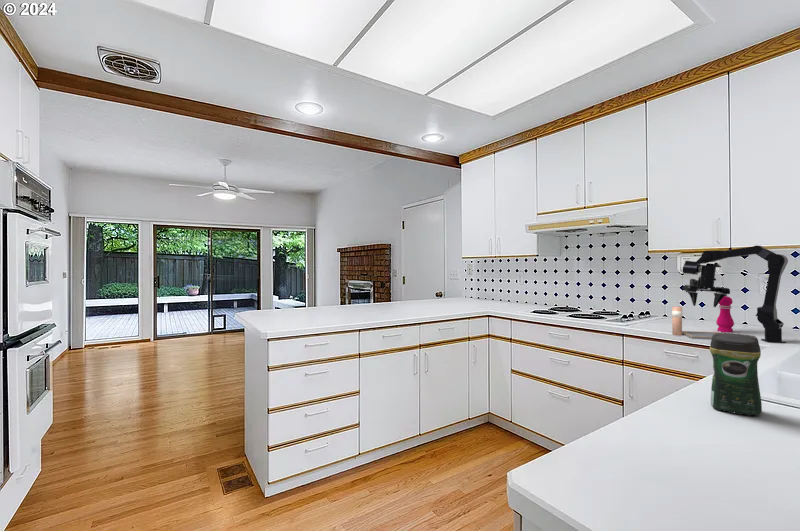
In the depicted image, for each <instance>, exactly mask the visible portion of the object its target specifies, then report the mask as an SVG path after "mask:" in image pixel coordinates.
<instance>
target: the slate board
mask: <svg viewBox="0 0 800 531" xmlns="http://www.w3.org/2000/svg"><path fill="white" fill-rule="evenodd" d="M715 333H722V332H719V331H716V332H715V331H697V330H696V331H693V330H692V331H690V330H682V336H686V337H687V338H689V339H692V340H693V339H695V340H711V339H712V335H713V334H715Z"/></svg>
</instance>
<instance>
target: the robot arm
mask: <svg viewBox="0 0 800 531" xmlns="http://www.w3.org/2000/svg"><path fill="white" fill-rule="evenodd" d="M751 255H752V256H753V255H756V256H758V257H760V258H761V259H763V260H764V261H766V262H767V270H768V278H767V284H766V290H765V294H764V295H765V296H764V300H763V304H762V306H758V307H757V308H756V311H757V312H756V314H755V317H757V318H756V319H757V321H758V322H759V323H760V324H761V325H762V327H763V328H764V338H760V341H764V342H766V343H780V344H782V343H784V344H786V343H787V342H786V341H784V340H783V339H782V338H783V337H782V336H783V333H782V332H783V331H782V330H783V326H784V325H785V323H784V322H783V321H782V320H780V319H779V318H778V309H777V301H778V295H779V290H780V286H781V285H780V283H781V278H782V274H783V273H784V271H785V270H786V267H787V265H788V264H789V263H788V261H789V259H788V257H787V256H786V255H785V254H780V253H779V254H777V253H775V252H774V251H771V250H769V249H767V248H765V247H764V246H762V245H753V246H746V247H741V248H734V249H727V250H725V249H724V250H705V251H703V252H702V254H701V255H700V257H699V258H698V259H697V260H696V261H694V260H693V261H691V260H685V261H684V264H683V267H682V272H683V274H684V275H685V274H686V275H695V276H696V275H698V274H700V276H699V277H698V278H697V279H696V278H690V279H689V284H684V285H683V287H682V290H683V291H684V292H685V293H688V295H689V297H690V300H691V302H692V306H694V307H695V306H697V300H698V292H710V293H711V292H712V293H713V295H714V299H713V308H716V307H717V306H719V302H720V301H721V299H722V298H723V297H724V296H728V295H731V289H730V288H728V287H724V286H723V287H722V286H721V287H720V286H715V281H717V278H716V277H715V276H716V270H717V268H722V265H720V263H719V262H720V261H722V260H726V259H728V258H729V259H731V258H738V257H743V256H744V257H745V256H751ZM718 261H719V262H718ZM697 291H698V292H697ZM726 294H727V295H726Z"/></svg>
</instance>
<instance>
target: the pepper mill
mask: <svg viewBox="0 0 800 531" xmlns="http://www.w3.org/2000/svg"><path fill="white" fill-rule="evenodd" d="M726 295H727V296H724V297H723V298H722V299H721V301H720V302H719V303H718V308H719V314H718V317H717V319H716V325H717V326H718V327H717V329H716V330H717V331H716V332H719V331H721V333H728V332H731V333H734V328H733V327H734V326H735V321H734V319H733V317H732V314H731V309H732V304H733V299H732V298H731V297H730V296H728V294H726Z"/></svg>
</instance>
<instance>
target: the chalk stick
mask: <svg viewBox="0 0 800 531" xmlns="http://www.w3.org/2000/svg"><path fill="white" fill-rule="evenodd" d="M671 307H672V308H671V309H672V310H671V319H672V321H671V324H672V326H671V328H672V331H671V332H672V334H671V335H672V336H679V337H680V336H683V334H682V331H683V307H682V306H676V305H675V306H673V305H672V306H671Z"/></svg>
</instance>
